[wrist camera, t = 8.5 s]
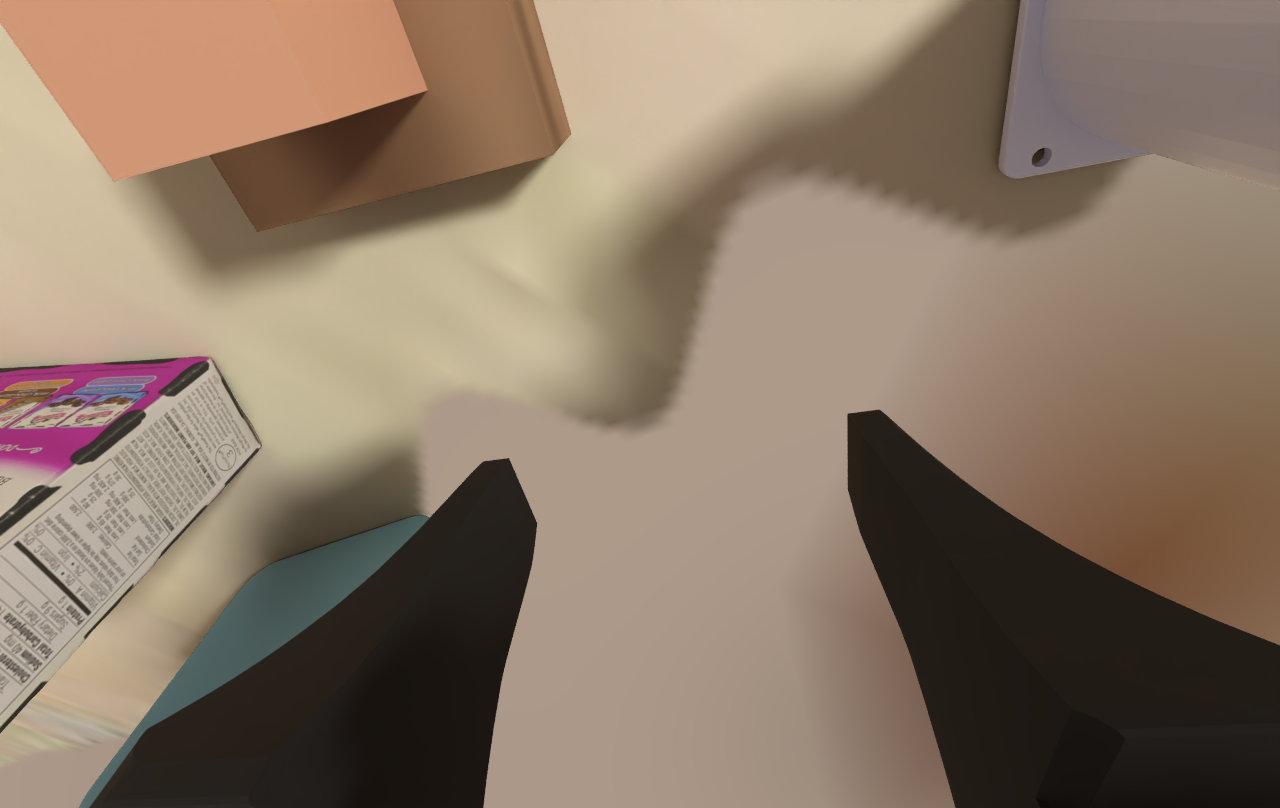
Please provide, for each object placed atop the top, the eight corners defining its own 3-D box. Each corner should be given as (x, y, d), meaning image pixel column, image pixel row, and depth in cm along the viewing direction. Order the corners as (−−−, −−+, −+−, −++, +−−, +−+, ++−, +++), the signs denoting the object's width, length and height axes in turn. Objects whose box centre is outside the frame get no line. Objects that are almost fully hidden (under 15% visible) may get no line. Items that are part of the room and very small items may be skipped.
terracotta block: (332, -156, 12) (145, -249, 7) (428, 90, 14) (326, 122, 10) (148, -88, 12) (-116, -139, 8) (269, 134, 15) (113, 181, 11)
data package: (315, 615, 32) (156, 882, 22) (255, 566, 30) (48, 839, 20) (492, 564, 29) (397, 852, 19) (439, 504, 27) (300, 795, 17)
